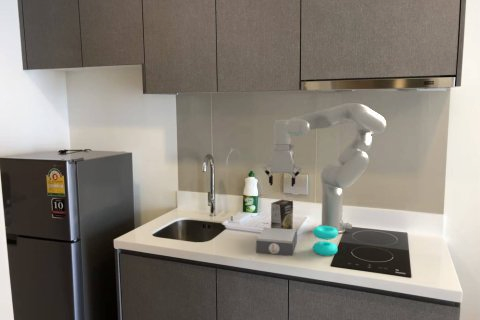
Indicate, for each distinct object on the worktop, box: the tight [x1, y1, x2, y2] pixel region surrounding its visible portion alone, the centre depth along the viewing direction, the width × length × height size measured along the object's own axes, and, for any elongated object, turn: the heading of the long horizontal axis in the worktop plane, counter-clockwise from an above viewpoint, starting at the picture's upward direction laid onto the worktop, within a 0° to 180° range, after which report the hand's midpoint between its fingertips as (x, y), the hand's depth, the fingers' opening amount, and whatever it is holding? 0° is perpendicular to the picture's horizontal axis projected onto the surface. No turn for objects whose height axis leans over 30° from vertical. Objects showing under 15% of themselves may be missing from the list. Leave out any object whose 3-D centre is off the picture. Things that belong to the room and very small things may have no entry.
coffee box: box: [270, 199, 294, 230], centre depth 181 cm, size 9×6×16 cm
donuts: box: [312, 225, 339, 257], centre depth 163 cm, size 10×10×10 cm
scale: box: [255, 226, 298, 257], centre depth 168 cm, size 15×16×6 cm
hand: (282, 185), depth 179 cm, fingers open, 9 cm apart
